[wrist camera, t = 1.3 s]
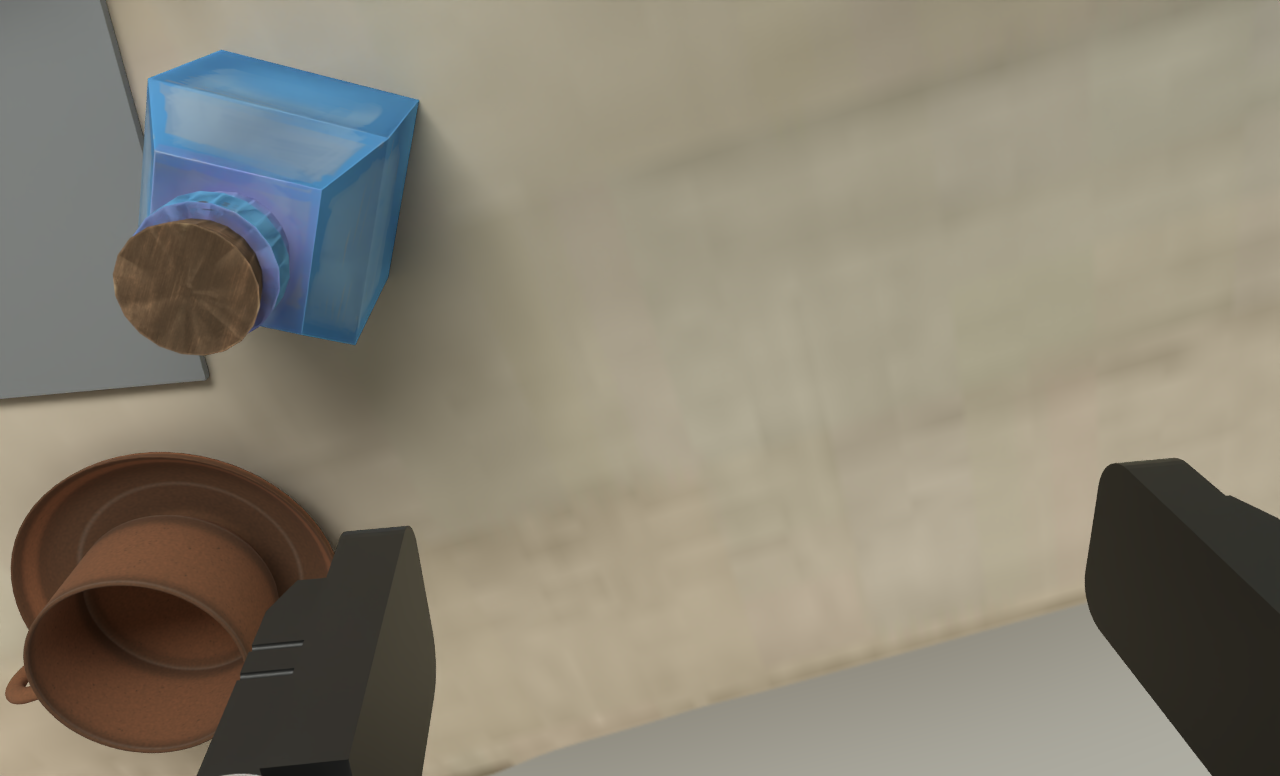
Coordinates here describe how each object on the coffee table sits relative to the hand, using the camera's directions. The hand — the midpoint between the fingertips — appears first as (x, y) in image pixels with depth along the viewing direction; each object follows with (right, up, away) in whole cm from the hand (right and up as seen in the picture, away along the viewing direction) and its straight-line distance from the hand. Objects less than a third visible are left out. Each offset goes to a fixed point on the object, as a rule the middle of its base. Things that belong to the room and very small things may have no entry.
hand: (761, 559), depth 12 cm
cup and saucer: (-19, -5, +28) cm, 34 cm away
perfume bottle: (-12, +9, +22) cm, 27 cm away
